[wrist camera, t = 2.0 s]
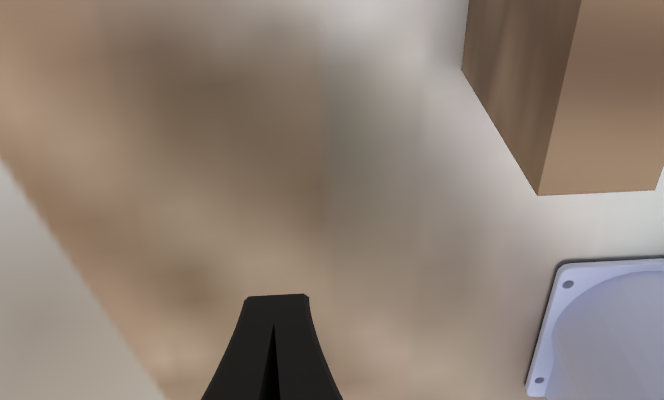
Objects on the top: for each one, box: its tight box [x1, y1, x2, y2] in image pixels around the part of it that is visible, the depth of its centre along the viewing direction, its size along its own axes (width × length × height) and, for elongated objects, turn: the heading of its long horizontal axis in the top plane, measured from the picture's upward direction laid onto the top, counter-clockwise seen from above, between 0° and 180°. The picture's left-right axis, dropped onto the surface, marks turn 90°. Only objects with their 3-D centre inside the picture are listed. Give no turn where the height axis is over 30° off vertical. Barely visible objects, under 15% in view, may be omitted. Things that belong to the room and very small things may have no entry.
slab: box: [461, 0, 664, 196], centre depth 16 cm, size 7×3×8 cm, turn 1°
